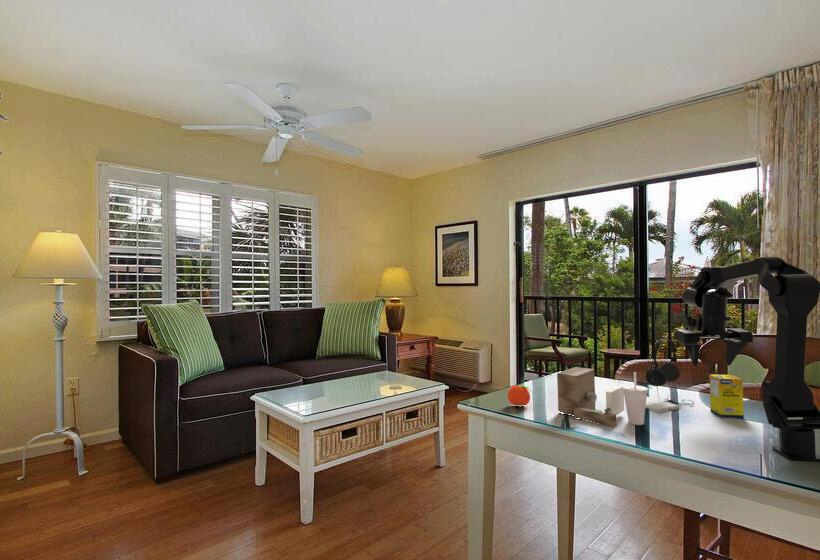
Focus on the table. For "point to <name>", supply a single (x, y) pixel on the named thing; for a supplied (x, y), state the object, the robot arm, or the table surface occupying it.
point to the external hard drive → (659, 405)
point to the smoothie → (635, 402)
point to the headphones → (663, 369)
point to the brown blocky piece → (581, 396)
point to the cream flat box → (615, 400)
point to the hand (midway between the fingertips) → (711, 365)
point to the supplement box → (726, 396)
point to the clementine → (519, 395)
